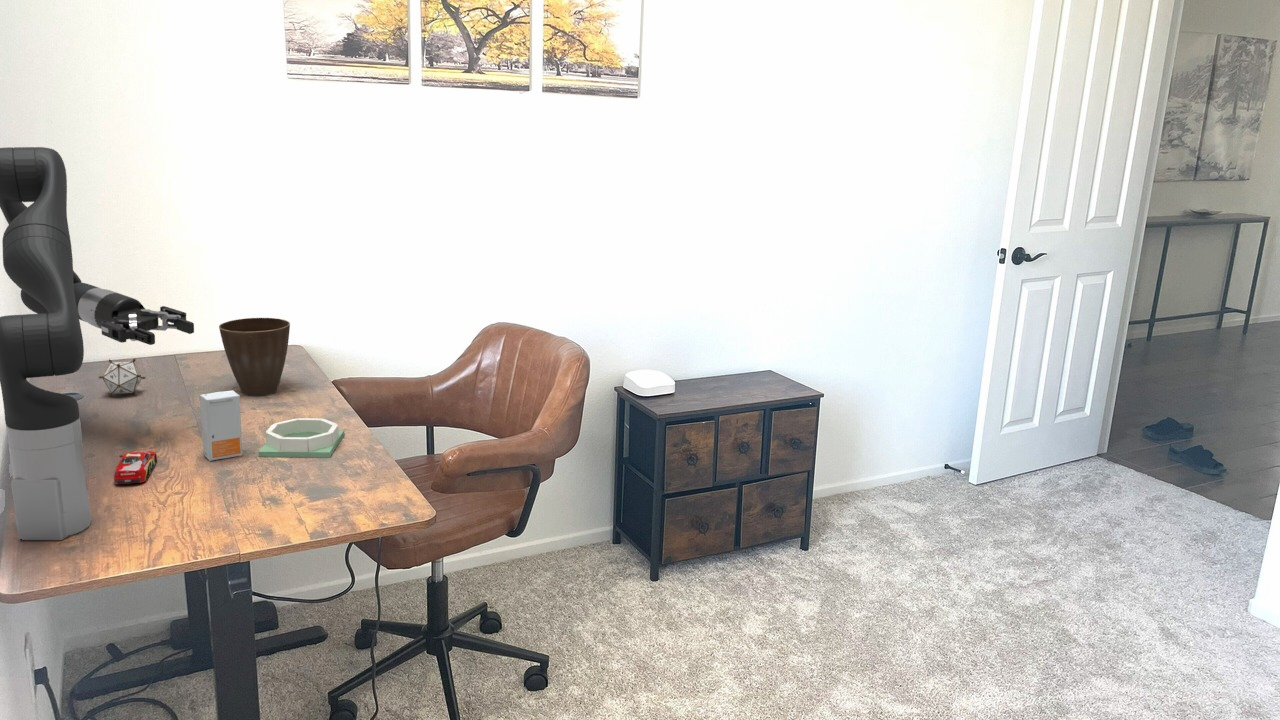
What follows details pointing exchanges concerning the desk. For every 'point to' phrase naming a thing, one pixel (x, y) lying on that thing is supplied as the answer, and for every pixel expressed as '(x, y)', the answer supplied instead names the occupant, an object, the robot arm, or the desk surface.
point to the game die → (122, 377)
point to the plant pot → (256, 352)
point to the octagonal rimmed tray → (302, 438)
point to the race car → (135, 467)
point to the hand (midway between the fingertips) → (173, 334)
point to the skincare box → (221, 425)
